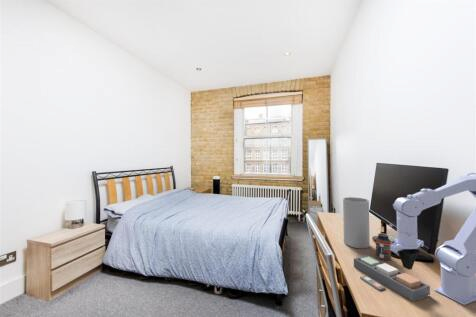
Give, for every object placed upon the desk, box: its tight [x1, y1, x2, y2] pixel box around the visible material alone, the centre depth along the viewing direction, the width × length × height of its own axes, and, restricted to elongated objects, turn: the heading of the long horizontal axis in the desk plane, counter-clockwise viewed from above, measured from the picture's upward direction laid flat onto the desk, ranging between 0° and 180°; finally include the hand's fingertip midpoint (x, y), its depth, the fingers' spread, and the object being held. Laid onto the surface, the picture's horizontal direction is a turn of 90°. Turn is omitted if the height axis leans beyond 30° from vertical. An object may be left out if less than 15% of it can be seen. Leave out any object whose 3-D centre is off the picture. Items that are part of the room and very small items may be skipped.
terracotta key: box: [396, 272, 421, 290], centre depth 74 cm, size 5×5×3 cm
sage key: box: [360, 257, 380, 267], centre depth 88 cm, size 5×5×3 cm
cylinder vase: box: [342, 196, 371, 249], centre depth 113 cm, size 12×12×25 cm
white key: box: [376, 262, 399, 277], centre depth 81 cm, size 5×5×3 cm
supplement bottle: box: [375, 232, 392, 261], centre depth 97 cm, size 6×6×11 cm
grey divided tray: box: [353, 254, 431, 302], centre depth 81 cm, size 9×24×4 cm, turn 18°
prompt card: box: [359, 275, 386, 291], centre depth 78 cm, size 3×8×1 cm, turn 18°
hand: (407, 268), depth 74 cm, fingers closed
